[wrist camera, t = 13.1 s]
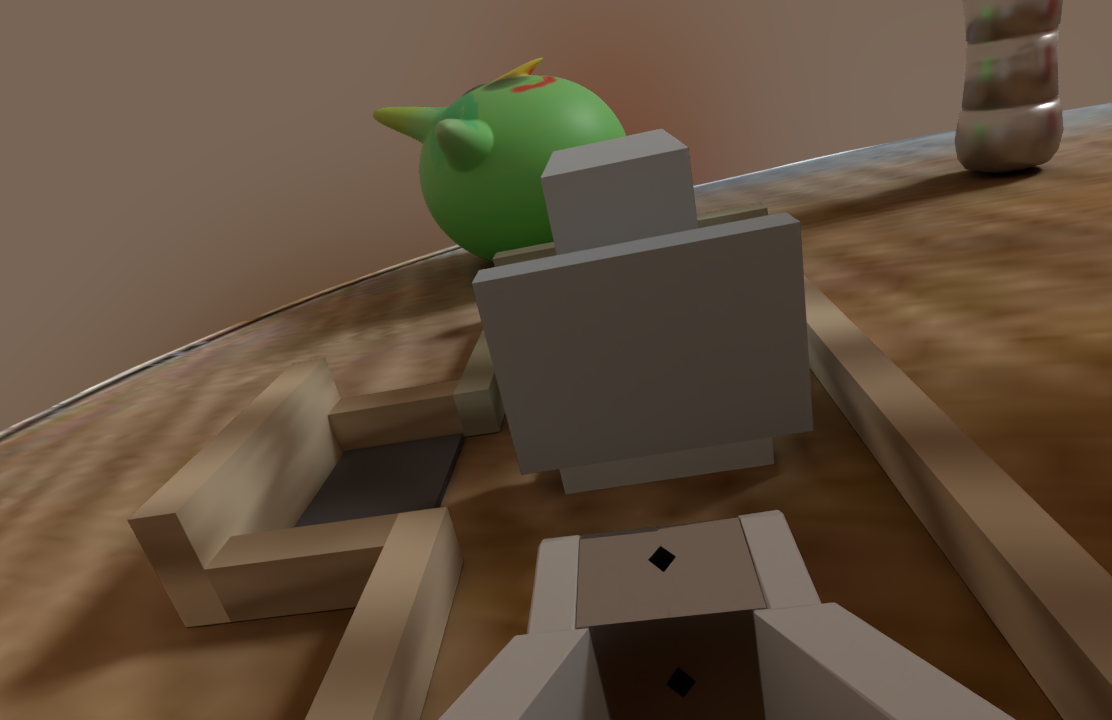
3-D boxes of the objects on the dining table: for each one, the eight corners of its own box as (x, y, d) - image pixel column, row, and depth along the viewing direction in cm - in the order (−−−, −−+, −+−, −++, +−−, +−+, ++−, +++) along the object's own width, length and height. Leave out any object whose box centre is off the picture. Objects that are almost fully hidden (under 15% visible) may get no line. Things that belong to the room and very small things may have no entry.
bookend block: (815, 462, 22) (795, 148, 18) (529, 503, 23) (454, 217, 19) (717, 295, 38) (696, 114, 34) (554, 324, 39) (516, 152, 36)
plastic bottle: (1026, 182, 46) (1049, -165, 38) (934, 180, 52) (938, -123, 44) (1080, 160, 48) (1111, -171, 41) (986, 161, 54) (998, -130, 47)
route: (1504, 1120, 7) (1655, 909, 6) (-194, 1133, 10) (-378, 996, 9) (766, 268, 40) (761, 202, 39) (406, 331, 43) (388, 273, 42)
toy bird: (686, 239, 51) (659, 28, 45) (490, 311, 44) (430, 73, 38) (566, 223, 66) (534, 64, 60) (406, 275, 59) (354, 100, 53)
